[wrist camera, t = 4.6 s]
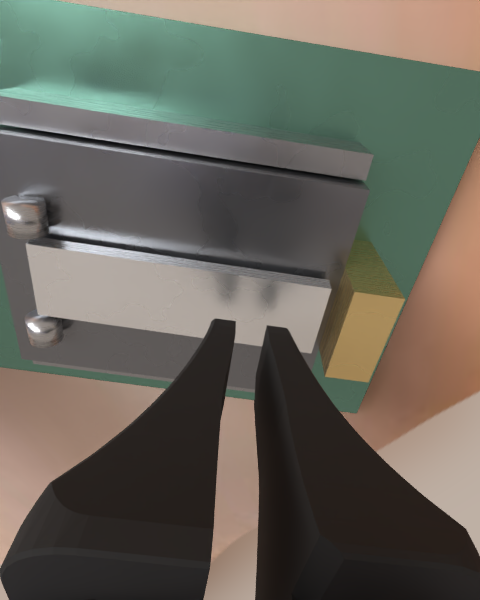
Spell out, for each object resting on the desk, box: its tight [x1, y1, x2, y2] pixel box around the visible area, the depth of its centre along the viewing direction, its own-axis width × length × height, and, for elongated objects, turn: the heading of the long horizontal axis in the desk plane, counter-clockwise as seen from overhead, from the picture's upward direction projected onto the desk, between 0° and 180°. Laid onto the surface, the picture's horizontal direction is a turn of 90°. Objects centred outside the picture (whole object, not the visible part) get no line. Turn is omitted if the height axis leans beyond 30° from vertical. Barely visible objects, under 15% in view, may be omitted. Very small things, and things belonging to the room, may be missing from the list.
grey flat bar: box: [26, 237, 332, 353], centre depth 14 cm, size 10×3×1 cm, turn 82°
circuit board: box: [0, 0, 480, 413], centre depth 15 cm, size 20×16×5 cm
